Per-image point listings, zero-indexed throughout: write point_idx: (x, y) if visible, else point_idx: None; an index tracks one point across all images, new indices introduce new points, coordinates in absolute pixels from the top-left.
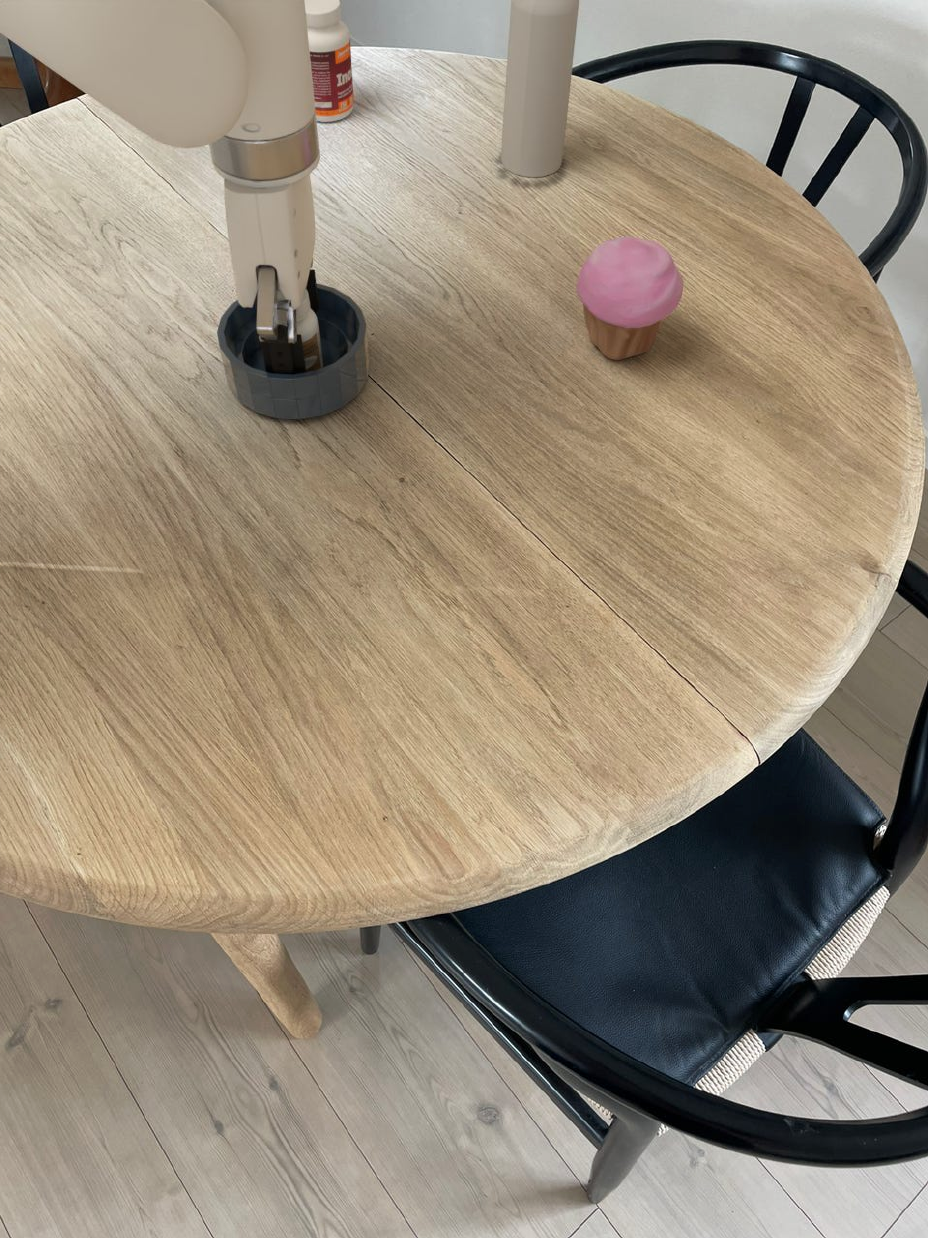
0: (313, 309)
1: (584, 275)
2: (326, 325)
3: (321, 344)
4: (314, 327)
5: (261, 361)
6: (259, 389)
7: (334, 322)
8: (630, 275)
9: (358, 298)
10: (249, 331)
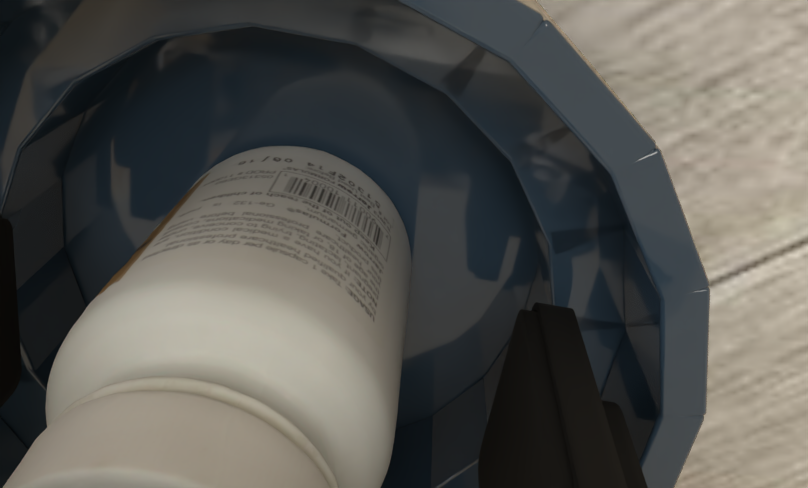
0: (483, 461)
1: None
2: (483, 431)
3: (454, 352)
4: None
5: (362, 85)
6: None
7: (462, 483)
8: None
9: (757, 484)
10: (438, 75)
